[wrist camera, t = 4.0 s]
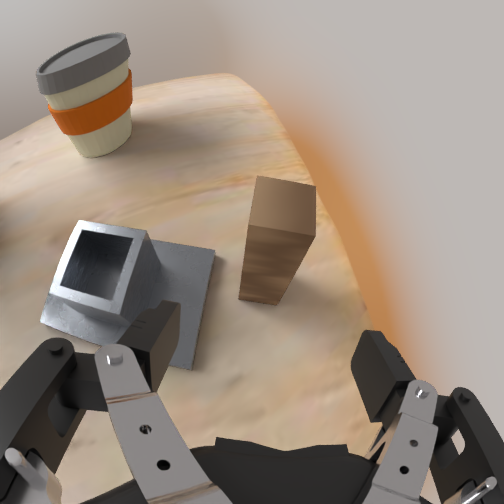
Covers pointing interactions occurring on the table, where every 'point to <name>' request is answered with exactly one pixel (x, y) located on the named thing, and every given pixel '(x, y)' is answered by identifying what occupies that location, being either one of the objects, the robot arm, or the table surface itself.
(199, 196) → the table surface
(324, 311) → the table surface
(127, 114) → the reusable coffee cup
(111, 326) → the grey square tube bracket
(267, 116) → the table surface
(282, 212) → the brown square block
